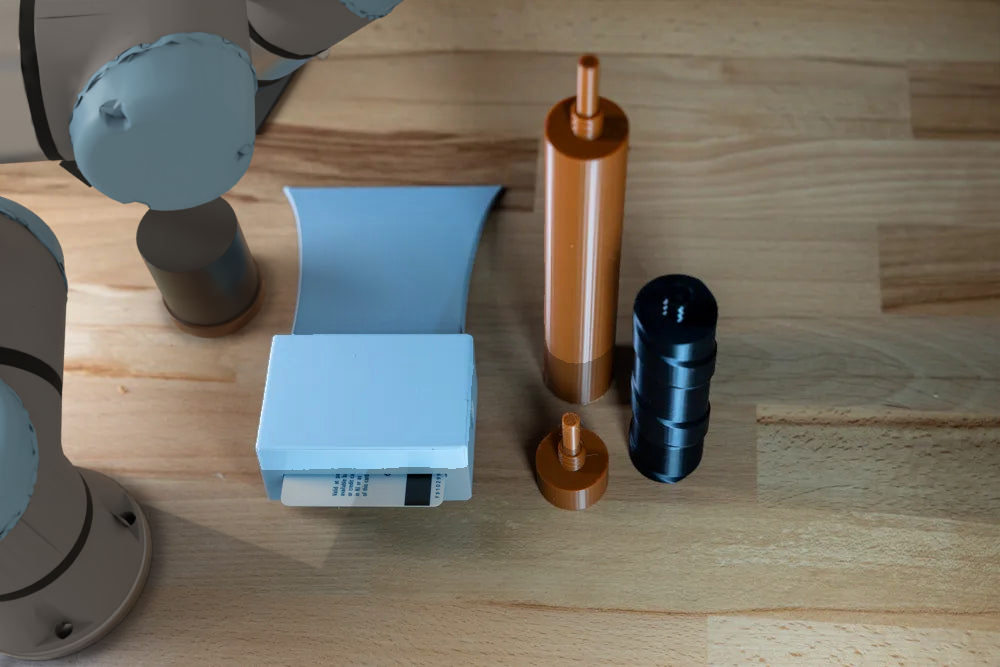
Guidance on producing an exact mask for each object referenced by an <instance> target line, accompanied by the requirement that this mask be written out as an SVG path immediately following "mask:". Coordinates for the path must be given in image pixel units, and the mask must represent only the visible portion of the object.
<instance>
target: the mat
mask: <svg viewBox="0 0 1000 667" xmlns="http://www.w3.org/2000/svg"><path fill="white" fill-rule="evenodd" d="M299 69H300V67H299V68H297V69H296V70H294V71H293V72H291V73H290V74H288V75H286V76H285V77H284V78H283V79H281V80H280V81H279V82H277V83H276V84H274V85H272V86H271V87H269V88H268V89H266V90H265V91H263V92H262V93H260V94H258V95H257V96H255V135H259V133H260V131H261V130H262V128H264V125H265V123H266V122H267V120H268V119H269V117H270V115H271V114H272V112H273V111H274V109H275V107H276V106H277V105H278V102H280V100H281V97H282V96H283V95H284V92H286V90H287V88H288V86H289V85H290V83H291V81H292V80H293V79H294V77H295V76H296V73H297V72H298V70H299Z"/></svg>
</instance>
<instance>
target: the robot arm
mask: <svg viewBox="0 0 1000 667" xmlns="http://www.w3.org/2000/svg"><path fill="white" fill-rule="evenodd" d="M402 2H404V0H0V165H5V164H21V163H36V162H56V161H57V162H58V161H59V164H58V166H60V167H61V168H63V169H64V170H65V171H67V172H68V173H69V174H71V176H73V177H75V178H76V179H77V180H79V181H80V182H81V183H83V184H84V185H86V186H87V187H88V188H92V187H93V188H94V189H95V190H97V191H98V192H100V193H101V194H103V195H104V196H106V197H107V198H109V199H111V200H113V201H115V202H118V203H120V204H123V205H126V204H127V205H128V204H133V203H137V204H141V205H145V206H147V208H148V209H152V210H160V211H169V210H181V209H187V208H192V207H195V206H198V205H201V204H204V203H207V202H210V201H212V200H214V199H216V198H218V197H222V196H223V195H225V194H226V193H227V192H229V191H230V190H231V189H233V188H234V187H235V186H236V185H237V184H238V183H239V181H240V180H241V179H242V178H243V177H244V176H245V175H246V173H247V170H249V167H250V165H251V162H252V160H253V156H254V152H255V143H256V134H255V96H257V95H258V94H260V93H262V92H263V91H265V90H266V89H268V88H269V87H271V86H272V85H274V84H276V83H277V82H279V81H280V80H281V79H283V78H284V77H285V76H286V75H288V74H290V73H291V72H293V71H294V70H296V69H297V68H299V69H300V67H302V66H303V65H304V64H306V63H307V62H309V61H311V60H312V59H314V58H316V59H318V60H320V61H325V60H327V59H328V58H329V57H330V54H331V48H332V47H333V46H335V45H336V44H339V43H341V41H343V40H345V39H347V38H348V37H350V36H352V35H353V34H355V33H357V32H358V31H360V30H361V29H363V28H365V27H366V26H368V25H369V24H372V23H373V22H374V21H377V20H378V19H382V18H384V17H386V16H388V15H389V14H390V13H392V12H393V11H394V9H395V8H396V7H397V6H398V5H400V4H401V3H402ZM64 255H65V254H64V251H63V248H62V245H61V243H60V241H59V239H58V237H57V235H56V234H55V233H54V231H53V229H52V228H51V227H50V226H49V225H48V224H47V223H46V222H45V221H44V220H43V219H42V218H41V217H40V216H39V215H38V214H36V213H35V212H33V211H32V210H30V209H29V208H28V207H26V206H24V205H23V204H21V203H18V202H17V201H14V200H12V199H9V198H7V197H5V196H2V195H0V654H2V655H4V656H7V657H10V658H14V659H18V660H26V661H44V660H45V661H46V660H52V659H58V658H62V657H66V656H69V655H72V654H74V653H78V652H79V651H82V650H84V649H86V648H88V647H90V646H91V645H93V644H95V643H96V642H98V641H100V640H101V639H103V638H104V637H105V636H106V635H108V634H109V633H110V632H111V631H112V630H113V629H115V628H116V627H117V626H118V625H119V624H120V623H121V622H122V621H123V620H124V618H125V617H126V616H128V614H129V612H130V611H131V610H132V609H133V607H134V605H135V604H136V603H137V600H138V599H139V597H140V596H141V593H142V591H143V589H144V587H145V585H146V582H147V579H148V576H149V574H150V573H149V572H150V569H151V565H152V564H151V563H152V555H153V546H152V545H153V541H152V535H151V530H150V525H149V523H148V521H147V517H146V516H145V514H144V512H143V510H142V509H141V507H140V505H139V504H138V503H137V501H136V500H135V499H134V498H133V497H132V495H131V494H130V493H129V492H128V491H127V489H126V488H124V487H123V486H122V485H121V484H120V483H119V482H118V481H116V480H115V479H114V478H111V477H109V475H106V474H105V473H102V472H99V471H96V470H92V469H90V468H85V467H82V466H78V465H75V464H73V463H72V462H71V460H70V459H69V457H67V456H66V455H65V454H64V450H63V445H62V432H63V431H62V429H63V428H62V427H63V426H62V424H63V387H64V370H65V368H64V367H65V348H66V324H67V321H66V320H67V305H68V299H69V297H68V294H69V284H68V278H67V274H66V269H65V268H66V267H65V266H66V265H65V256H64Z"/></svg>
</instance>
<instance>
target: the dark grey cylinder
mask: <svg viewBox="0 0 1000 667" xmlns="http://www.w3.org/2000/svg"><path fill="white" fill-rule="evenodd" d="M135 237H136V238H135V242H136V247H137V250H138V252H139V255H140V256H141V258H142V260H143V262H144V264H145V266H146V268H147V270H148V272H149V273H150V276H151V278H152V279H153V281H154V283H155V284H156V286H157V288H158V291H159V292H160V294H161V297H162V298H161V299H162V303H163V307H164V308H165V310H166V312H167V314H168V316H169V318H170V320H171V321H172V322H173V324H174V325H175V326H176V327H177V328H179V329H180V330H181V331H182V332H184V333H186V334H189V335H191V336H194V337H198V338H205V339H212V338H221V337H226V336H228V335H231V334H233V333H236V332H238V331H240V330H241V329H243V328H244V327H246V326H247V325H249V324H250V323H251V322H252V321H253V320H254V319H255V317H256V316H257V315H258V314H259V312H260V311H261V309H262V307H263V305H264V303H265V299H266V296H267V295H266V294H267V285H266V284H267V283H266V279H265V277H264V274H263V272H262V268H261V266H260V264H259V263H258V262H257V260H256V259H255V258H254V257H253V255H252V252H251V251H250V248H249V245H248V243H247V240H246V237H245V235H244V233H243V230H242V227H241V225H240V222H239V219H238V217H237V214H236V212H235V210H234V208H233V207H232V204H230V203H229V202H228V201H227V200H226V199H225V198H223V197H222V196H220V197H218V198H216V199H214V200H212V201H210V202H207V203H204V204H201V205H198V206H195V207H192V208H187V209H181V210H169V211H160V210H152V209H150V208H148V210H147V211H146V212H145V213H144V214H143V216H142V218H141V219H140V221H139V224H138V226H137V229H136V234H135Z"/></svg>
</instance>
